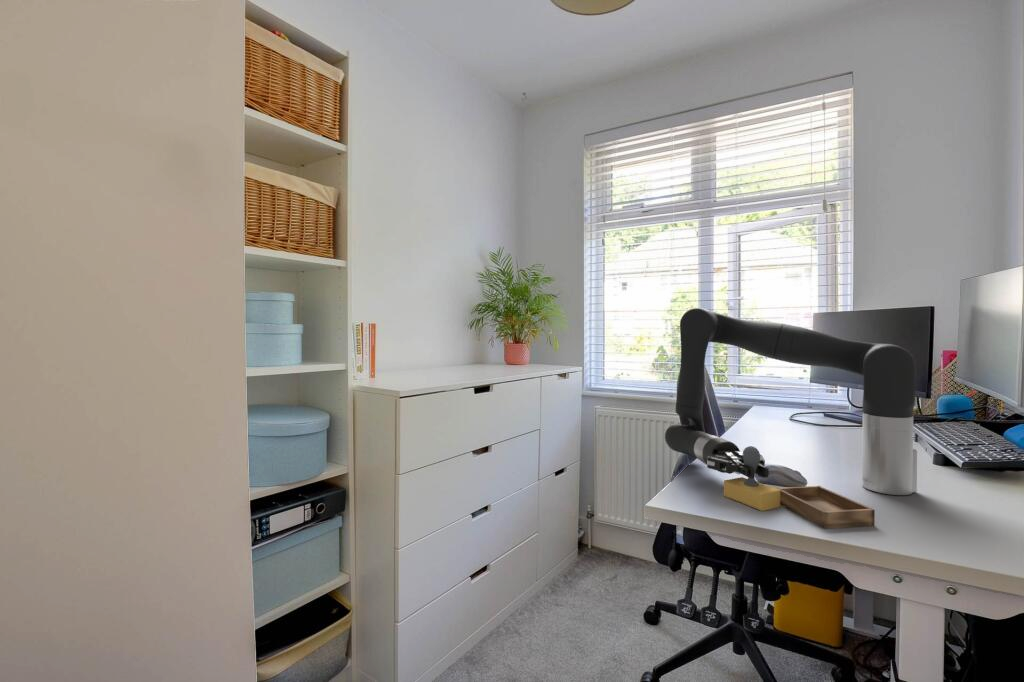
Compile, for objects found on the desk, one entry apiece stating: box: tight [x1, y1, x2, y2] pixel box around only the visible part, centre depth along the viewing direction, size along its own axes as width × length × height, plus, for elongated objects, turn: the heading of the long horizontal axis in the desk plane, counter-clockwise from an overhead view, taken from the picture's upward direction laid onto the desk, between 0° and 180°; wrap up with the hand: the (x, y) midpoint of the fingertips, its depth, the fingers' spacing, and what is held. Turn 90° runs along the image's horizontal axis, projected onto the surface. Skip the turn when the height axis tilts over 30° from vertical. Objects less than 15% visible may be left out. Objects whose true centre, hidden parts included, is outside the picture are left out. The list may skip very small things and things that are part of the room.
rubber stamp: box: [723, 445, 781, 512], centre depth 105 cm, size 10×6×12 cm, turn 23°
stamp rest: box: [775, 485, 876, 530], centre depth 99 cm, size 10×14×3 cm
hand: (759, 473), depth 102 cm, fingers closed on rubber stamp, 2 cm apart
